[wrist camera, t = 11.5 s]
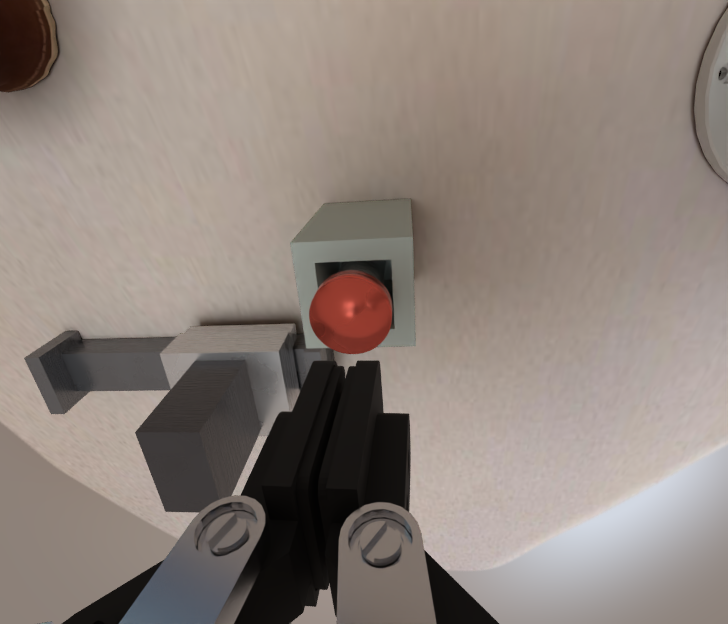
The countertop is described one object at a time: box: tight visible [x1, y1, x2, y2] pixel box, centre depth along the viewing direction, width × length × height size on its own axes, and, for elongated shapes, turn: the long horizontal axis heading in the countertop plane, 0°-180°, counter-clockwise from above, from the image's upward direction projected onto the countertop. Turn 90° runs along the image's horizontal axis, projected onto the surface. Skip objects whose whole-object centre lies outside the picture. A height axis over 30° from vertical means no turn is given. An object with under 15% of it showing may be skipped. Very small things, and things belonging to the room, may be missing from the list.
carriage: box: [135, 324, 301, 512], centre depth 24 cm, size 7×6×10 cm
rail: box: [24, 331, 334, 414], centre depth 28 cm, size 19×4×4 cm, turn 94°
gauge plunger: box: [309, 260, 392, 354], centre depth 20 cm, size 3×3×7 cm
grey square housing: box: [290, 199, 416, 348], centre depth 22 cm, size 5×5×8 cm
